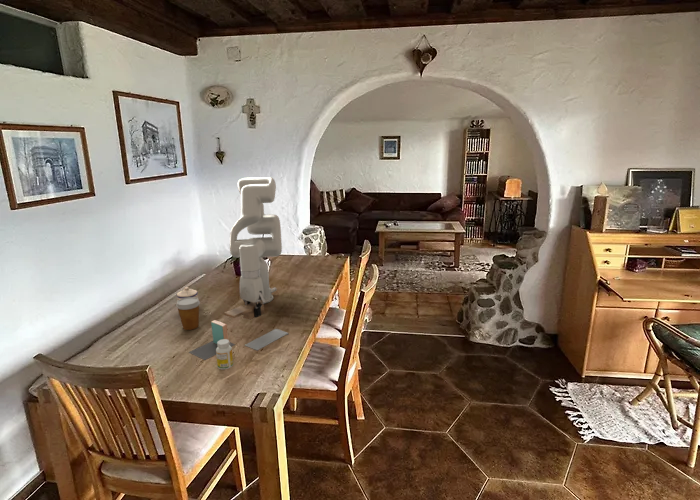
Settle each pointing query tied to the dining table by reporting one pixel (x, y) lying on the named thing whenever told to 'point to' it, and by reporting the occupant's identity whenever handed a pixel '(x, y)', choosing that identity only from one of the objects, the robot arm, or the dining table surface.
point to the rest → (266, 339)
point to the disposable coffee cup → (189, 312)
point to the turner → (244, 311)
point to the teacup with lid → (187, 293)
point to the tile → (219, 331)
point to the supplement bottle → (224, 354)
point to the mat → (206, 350)
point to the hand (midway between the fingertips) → (253, 314)
